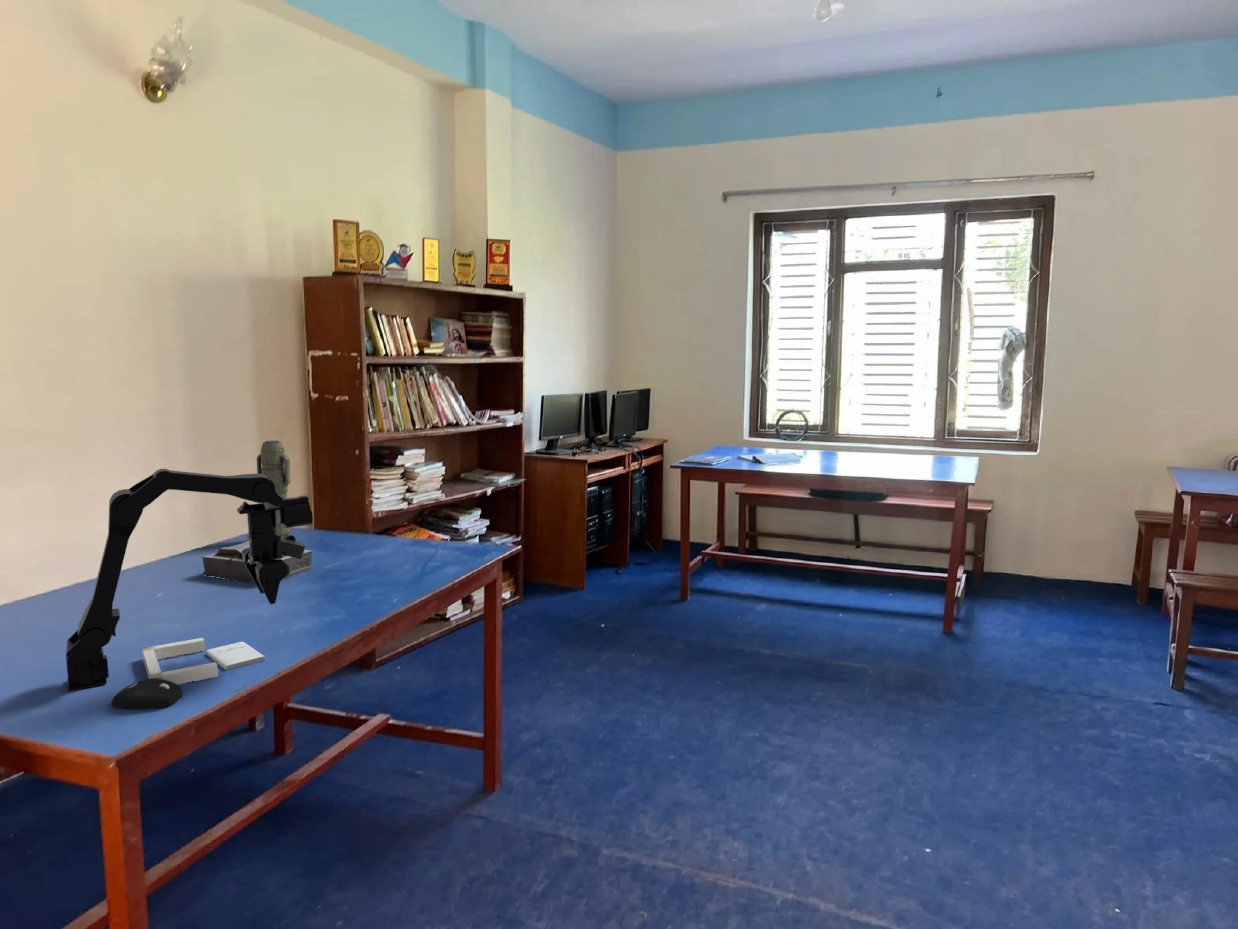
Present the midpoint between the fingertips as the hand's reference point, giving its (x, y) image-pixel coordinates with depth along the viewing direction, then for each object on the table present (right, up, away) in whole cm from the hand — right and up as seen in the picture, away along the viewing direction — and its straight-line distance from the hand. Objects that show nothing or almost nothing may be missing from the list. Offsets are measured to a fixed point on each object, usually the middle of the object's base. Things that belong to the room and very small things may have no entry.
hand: (267, 598), depth 181 cm
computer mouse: (-13, -16, -25) cm, 32 cm away
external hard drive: (-6, -13, -3) cm, 15 cm away
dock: (-15, -13, -9) cm, 22 cm away
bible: (-30, -3, +62) cm, 69 cm away
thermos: (-42, +3, +103) cm, 111 cm away
